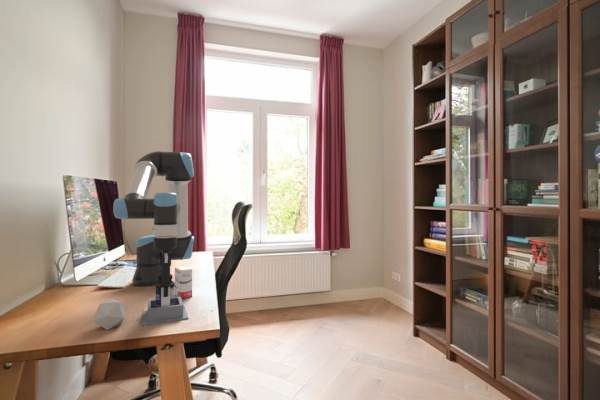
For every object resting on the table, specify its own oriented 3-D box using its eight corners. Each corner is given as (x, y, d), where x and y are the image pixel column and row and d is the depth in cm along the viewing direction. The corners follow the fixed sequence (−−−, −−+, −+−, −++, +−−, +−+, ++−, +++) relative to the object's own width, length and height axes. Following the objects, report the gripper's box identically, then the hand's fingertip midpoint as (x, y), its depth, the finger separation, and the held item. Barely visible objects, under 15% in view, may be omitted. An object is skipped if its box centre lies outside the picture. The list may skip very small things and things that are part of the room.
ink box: (192, 296, 133) (192, 268, 134) (180, 299, 130) (180, 270, 130) (185, 292, 140) (185, 265, 140) (173, 294, 137) (174, 266, 137)
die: (111, 321, 107) (91, 302, 102) (136, 308, 107) (116, 288, 103) (104, 340, 99) (81, 320, 95) (130, 326, 100) (109, 304, 95)
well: (143, 312, 114) (143, 299, 114) (184, 306, 120) (184, 294, 120) (142, 325, 102) (142, 311, 102) (188, 319, 108) (188, 305, 108)
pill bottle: (153, 306, 111) (153, 275, 112) (171, 303, 115) (171, 272, 115) (158, 311, 107) (158, 278, 107) (176, 307, 111) (177, 275, 111)
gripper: (153, 234, 118) (153, 297, 118) (154, 240, 101) (153, 313, 101) (175, 233, 121) (174, 294, 121) (179, 239, 104) (178, 309, 104)
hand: (165, 302), depth 111 cm, fingers closed on pill bottle, 6 cm apart
